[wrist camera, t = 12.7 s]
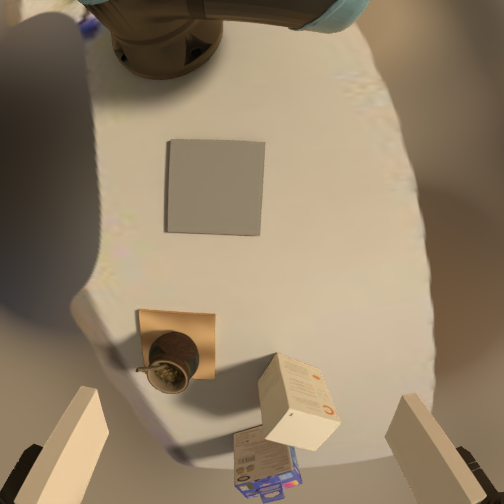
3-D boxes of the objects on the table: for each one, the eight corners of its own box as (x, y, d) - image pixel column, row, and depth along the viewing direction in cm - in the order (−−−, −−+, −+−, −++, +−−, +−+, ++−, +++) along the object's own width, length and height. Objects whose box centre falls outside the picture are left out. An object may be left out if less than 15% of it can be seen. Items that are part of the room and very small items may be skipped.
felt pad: (171, 140, 38) (170, 139, 38) (264, 142, 39) (265, 142, 38) (168, 231, 41) (167, 231, 41) (259, 234, 42) (259, 235, 41)
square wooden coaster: (140, 309, 44) (138, 311, 43) (215, 314, 44) (215, 316, 43) (146, 371, 46) (145, 373, 45) (215, 376, 47) (214, 379, 46)
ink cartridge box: (244, 450, 51) (246, 510, 37) (231, 433, 50) (231, 496, 36) (293, 435, 51) (306, 495, 37) (283, 417, 49) (295, 480, 35)
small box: (256, 381, 47) (262, 439, 35) (276, 351, 46) (288, 407, 33) (299, 396, 48) (315, 452, 36) (320, 368, 47) (342, 422, 35)
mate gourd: (191, 374, 46) (181, 417, 36) (146, 353, 45) (126, 393, 35) (210, 339, 44) (202, 379, 34) (161, 316, 43) (142, 352, 33)
